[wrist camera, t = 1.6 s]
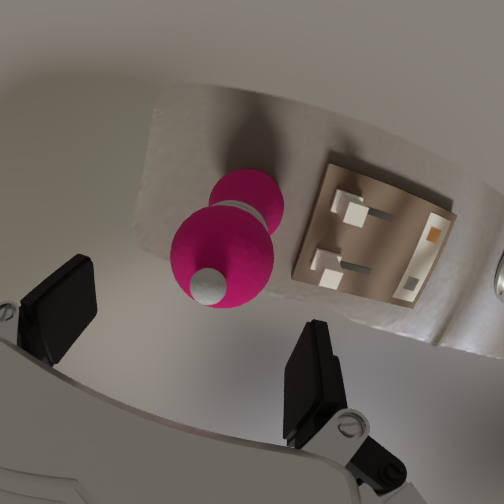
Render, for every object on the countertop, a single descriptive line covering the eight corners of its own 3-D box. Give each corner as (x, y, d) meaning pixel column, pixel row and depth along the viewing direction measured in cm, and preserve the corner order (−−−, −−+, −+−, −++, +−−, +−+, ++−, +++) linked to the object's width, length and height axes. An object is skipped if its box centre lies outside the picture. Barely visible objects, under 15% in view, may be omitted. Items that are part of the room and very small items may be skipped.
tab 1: (340, 254, 30) (348, 272, 26) (333, 272, 31) (340, 292, 27) (316, 248, 30) (321, 265, 26) (309, 266, 31) (313, 285, 27)
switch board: (451, 212, 28) (457, 215, 26) (409, 302, 34) (413, 309, 32) (326, 162, 28) (329, 163, 26) (291, 273, 34) (291, 279, 32)
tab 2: (362, 197, 27) (374, 207, 23) (355, 217, 28) (365, 231, 24) (336, 188, 27) (345, 198, 23) (329, 209, 28) (337, 222, 24)
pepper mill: (283, 164, 28) (287, 219, 10) (283, 227, 31) (281, 357, 13) (217, 165, 29) (118, 220, 11) (221, 226, 32) (150, 345, 14)
